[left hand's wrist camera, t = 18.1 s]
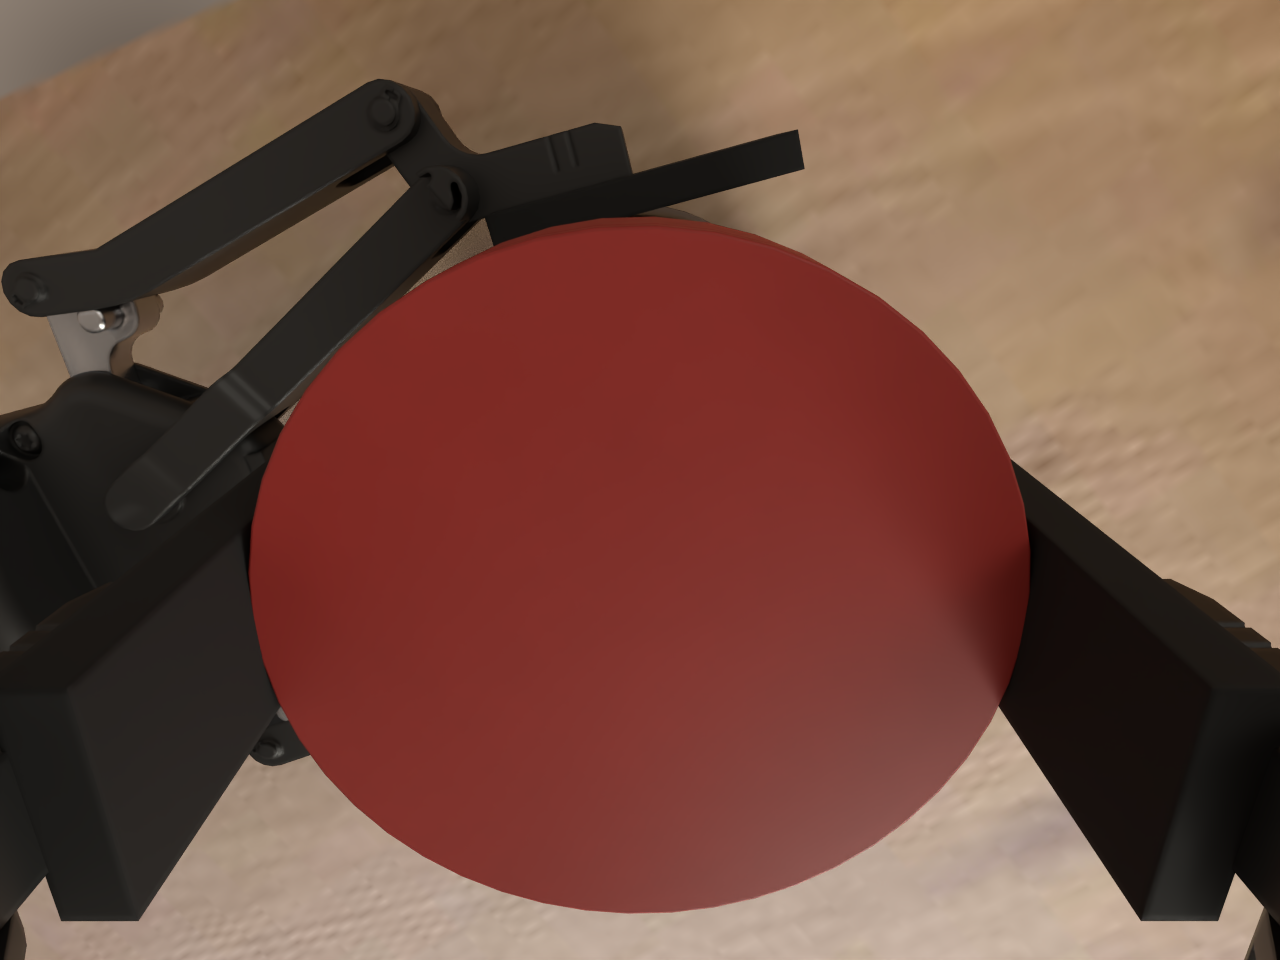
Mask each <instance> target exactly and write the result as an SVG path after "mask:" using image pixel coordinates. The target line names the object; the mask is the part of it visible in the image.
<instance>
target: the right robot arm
mask: <svg viewBox="0 0 1280 960" xmlns="http://www.w3.org/2000/svg"><path fill="white" fill-rule="evenodd" d="M393 166H395V167H396V168H397V170H398V171H399V172H400V174H401V175H402V176H403V178H404V179H405V181H406V182H407V183H408V185H409V186H410V188H409V189H408V190H407V191H406V192H405V193H404V194H403V195H402V196H401V197H400V198H399V199H398V200H397V202H396V203H395V204H394V205H393V206H392V207H391V208H390V209H389V210H388V211H387V212H386V213H385V214H384V215H383V216H382V217H381V218H380V219H379V220H378V221H377V222H376V223H375V224H374V225H373V226H372V227H371V228H370V229H369V230H368V231H367V232H366V233H365V234H364V235H363V236H362V237H361V238H360V239H359V240H358V241H357V242H356V243H355V244H354V245H353V246H352V247H351V248H350V249H349V250H348V252H347V253H346V254H345V255H344V256H343V257H342V258H341V259H340V260H339V261H338V262H337V263H336V264H335V265H334V266H333V267H332V268H331V269H330V270H329V271H328V272H327V273H326V274H325V275H324V276H323V277H322V278H321V279H320V280H319V281H318V282H317V283H316V284H315V285H314V286H313V287H312V288H311V289H310V290H309V291H308V292H307V293H306V294H305V295H304V296H303V297H302V298H301V299H300V301H299V302H298V303H297V304H296V305H295V306H294V307H293V308H292V309H291V310H290V311H289V312H288V313H287V314H286V315H285V316H284V317H283V318H282V319H281V320H280V321H279V322H278V323H277V324H276V325H275V326H274V327H273V328H272V329H271V330H270V331H269V332H268V333H267V334H266V335H265V336H264V337H263V338H262V339H261V340H260V341H259V342H258V343H257V344H256V345H255V346H254V347H253V348H252V350H251V351H250V352H249V353H248V354H247V355H246V356H245V357H244V358H243V359H242V360H241V361H240V362H239V363H238V364H237V365H236V366H235V367H234V368H232V369H231V370H230V371H229V372H228V373H226V374H225V375H224V376H222V377H221V378H220V379H218V380H217V381H216V382H215V383H214V384H212V385H211V386H210V387H209V388H207V387H204V386H201V385H198V384H196V383H193V382H190V381H187V380H184V379H181V378H179V377H176V376H173V375H170V374H167V373H165V372H162V371H159V370H156V369H153V368H150V367H148V366H145V365H142V364H139V363H134V362H133V358H132V346H133V344H134V341H135V340H136V339H137V338H138V337H139V336H140V335H142V334H144V333H146V332H148V331H150V330H152V329H153V328H154V327H155V326H156V325H157V323H158V321H159V319H160V313H161V312H162V310H163V307H164V306H163V301H162V299H161V297H160V296H159V295H158V294H161V293H165V292H168V291H172V290H175V289H178V288H181V287H184V286H187V285H190V284H193V283H195V282H197V281H199V280H201V279H203V278H205V277H207V276H208V275H210V274H212V273H213V272H215V271H217V270H219V269H220V268H222V267H224V266H225V265H227V264H229V263H230V262H232V261H234V260H236V259H237V258H239V257H241V256H242V255H244V254H246V253H247V252H249V251H251V250H253V249H254V248H256V247H258V246H259V245H261V244H263V243H264V242H266V241H268V240H269V239H271V238H273V237H275V236H276V235H278V234H280V233H281V232H283V231H285V230H286V229H288V228H290V227H292V226H293V225H295V224H297V223H298V222H300V221H302V220H303V219H305V218H307V217H308V216H310V215H312V214H314V213H315V212H317V211H319V210H320V209H322V208H324V207H325V206H327V205H329V204H331V203H332V202H334V201H336V200H337V199H339V198H341V197H342V196H344V195H346V194H347V193H349V192H351V191H353V190H354V189H356V188H358V187H359V186H361V185H363V184H364V183H366V182H368V181H370V180H371V179H373V178H375V177H376V176H378V175H380V174H381V173H383V172H385V171H387V170H388V169H390V168H392V167H393ZM802 169H804V163H803V157H802V151H801V145H800V139H799V134H798V130H793V131H789V132H785V133H780V134H776V135H772V136H769V137H765V138H762V139H758V140H754V141H751V142H747V143H743V144H740V145H736V146H733V147H729V148H725V149H722V150H718V151H715V152H711V153H707V154H704V155H700V156H696V157H693V158H689V159H686V160H682V161H678V162H675V163H671V164H667V165H664V166H660V167H657V168H653V169H649V170H646V171H642V172H639V173H635V174H633V172H632V168H631V163H630V159H629V155H628V151H627V147H626V143H625V139H624V135H623V131H622V128H621V126H614V125H607V124H600V123H592V124H589V125H585V126H581V127H578V128H574V129H571V130H568V131H564V132H560V133H557V134H553V135H550V136H547V137H543V138H539V139H536V140H532V141H529V142H525V143H522V144H518V145H515V146H511V147H507V148H504V149H500V150H497V151H493V152H490V153H486V154H478V153H475V152H473V151H471V150H470V149H468V148H467V147H465V146H464V145H463V144H462V143H461V141H460V140H459V139H458V138H457V137H456V135H455V134H454V132H453V131H452V130H451V128H450V127H449V125H448V124H447V122H446V121H445V120H444V118H443V117H442V114H441V111H440V109H439V106H438V104H437V103H436V102H435V101H434V99H433V98H432V97H431V96H429V95H428V94H426V93H424V92H422V91H420V90H417V89H414V88H411V87H408V86H406V85H403V84H400V83H397V82H394V81H391V80H384V79H377V80H374V81H371V82H368V83H366V84H364V85H363V86H361V87H359V88H358V89H356V90H354V91H353V92H351V93H350V94H348V95H346V96H345V97H343V98H341V99H340V100H338V101H337V102H335V103H333V104H332V105H330V106H328V107H327V108H325V109H323V110H322V111H320V112H319V113H317V114H315V115H314V116H312V117H310V118H309V119H307V120H306V121H304V122H302V123H301V124H299V125H297V126H296V127H294V128H293V129H291V130H289V131H288V132H286V133H284V134H283V135H281V136H280V137H278V138H276V139H275V140H273V141H271V142H270V143H268V144H267V145H265V146H263V147H262V148H260V149H258V150H257V151H255V152H253V153H252V154H250V155H249V156H247V157H245V158H244V159H242V160H240V161H239V162H237V163H236V164H234V165H232V166H231V167H229V168H227V169H226V170H224V171H223V172H221V173H219V174H218V175H216V176H214V177H213V178H211V179H210V180H208V181H206V182H205V183H203V184H201V185H200V186H198V187H196V188H195V189H193V190H192V191H190V192H188V193H187V194H185V195H183V196H182V197H180V198H179V199H177V200H175V201H174V202H172V203H170V204H169V205H167V206H166V207H164V208H162V209H161V210H159V211H157V212H156V213H154V214H153V215H151V216H149V217H148V218H146V219H144V220H143V221H141V222H140V223H138V224H136V225H135V226H133V227H131V228H130V229H128V230H126V231H125V232H123V233H122V234H120V235H118V236H117V237H115V238H113V239H112V240H110V241H109V242H107V243H105V244H104V245H102V246H100V247H99V248H97V249H89V250H83V251H76V252H70V253H63V254H57V255H50V256H44V257H37V258H30V259H24V260H18V261H16V262H13V263H11V264H9V265H8V266H7V268H6V269H5V270H4V271H3V276H2V281H1V282H2V287H3V292H4V294H5V296H6V297H7V299H8V300H9V302H10V303H11V304H12V305H13V306H14V307H15V308H16V309H17V310H19V311H20V312H22V313H24V314H27V315H29V316H34V317H45V316H47V319H48V321H49V324H50V326H51V329H52V331H53V334H54V336H55V339H56V341H57V344H58V347H59V349H60V352H61V354H62V357H63V359H64V362H65V364H66V367H67V369H68V372H69V374H70V377H71V378H69V379H67V380H66V381H65V382H64V383H62V384H61V385H60V386H59V388H58V389H57V390H56V392H55V393H54V394H53V396H52V397H51V398H50V399H49V400H48V401H47V402H45V403H44V404H40V405H37V406H33V407H29V408H25V409H22V410H18V411H14V412H11V413H7V414H3V415H0V653H1V652H2V651H9V649H10V648H9V646H10V645H11V644H13V643H14V642H15V641H17V640H18V639H19V638H21V637H22V636H23V635H25V634H26V633H27V632H29V631H35V629H36V625H38V624H39V623H40V622H42V621H43V620H44V619H46V618H47V617H48V616H50V615H51V614H52V613H53V612H55V611H56V610H57V609H59V608H60V607H61V606H63V605H64V604H65V603H67V602H68V601H71V600H73V599H75V598H77V597H79V596H81V595H83V594H85V593H87V592H90V591H92V590H94V589H96V588H98V587H100V586H102V585H104V584H106V583H108V582H114V581H115V580H117V579H118V578H119V577H120V576H122V575H123V574H124V573H125V572H127V571H128V570H129V569H131V568H132V567H133V566H134V565H136V564H137V563H138V562H139V561H141V560H142V559H143V558H144V557H146V556H147V555H148V554H149V553H151V552H152V551H153V550H155V549H156V548H157V547H158V546H160V545H161V544H162V543H163V542H165V541H166V540H167V539H168V538H170V537H171V536H172V535H173V534H175V533H176V532H177V531H179V530H180V529H181V528H182V527H184V526H185V525H186V524H187V523H189V522H190V521H191V520H192V519H194V518H195V517H196V516H197V515H199V514H200V513H201V512H203V511H204V510H205V509H206V508H208V507H209V506H210V505H211V504H213V503H214V502H215V501H216V500H218V499H219V498H220V497H221V496H223V495H224V494H225V493H227V492H228V491H229V490H230V489H232V488H233V487H234V486H235V485H237V484H238V483H239V482H240V481H242V480H243V479H244V478H245V477H247V476H248V475H249V474H251V473H252V472H253V471H254V470H256V469H257V468H258V467H259V466H261V465H262V464H263V463H264V462H266V461H267V460H268V459H269V458H271V455H272V452H273V450H274V447H275V445H276V442H277V440H278V437H279V435H280V433H281V431H282V429H283V428H284V425H283V424H282V423H281V422H280V421H279V419H280V418H281V417H282V416H283V415H284V414H285V413H286V412H287V411H288V410H289V409H290V408H291V407H292V406H293V405H294V404H295V403H296V402H297V401H298V400H299V399H300V398H301V397H302V395H303V393H304V392H305V390H306V389H307V388H308V386H309V385H310V384H311V383H312V381H313V380H314V379H315V378H316V376H317V375H318V374H319V373H320V372H321V370H322V369H323V368H324V367H325V365H326V364H327V363H328V362H329V361H330V359H331V358H332V357H333V356H334V354H335V353H336V352H337V351H338V349H339V348H341V347H342V346H343V345H344V344H345V343H346V342H347V341H348V340H349V339H350V338H352V337H353V336H354V335H355V334H356V333H357V332H358V331H359V330H360V329H361V328H363V327H364V326H365V325H366V324H367V323H368V322H369V321H370V320H371V319H372V318H374V317H375V316H376V315H377V314H378V313H379V312H380V311H382V310H383V309H385V308H386V307H388V306H389V305H391V304H392V303H394V302H395V301H397V300H398V299H400V298H401V297H402V296H403V295H404V294H405V293H406V292H407V291H408V290H409V289H410V288H411V287H412V286H414V285H415V284H416V283H417V282H418V281H419V280H420V279H421V278H422V277H423V276H424V275H425V274H426V273H427V272H428V271H429V270H430V269H431V268H432V267H433V266H434V265H435V264H436V263H437V262H438V261H439V260H440V259H441V258H442V257H443V256H444V255H445V254H446V253H447V252H448V251H449V250H450V249H451V248H452V247H453V246H454V245H455V244H457V243H458V242H459V241H460V240H461V239H462V238H463V237H464V236H465V235H466V234H467V233H468V232H469V231H470V230H471V229H472V228H473V227H474V226H475V225H476V224H477V223H478V222H479V221H480V220H481V219H483V218H485V219H486V223H487V226H488V229H489V232H490V235H491V239H492V242H493V245H494V246H496V245H498V244H500V243H502V242H505V241H508V240H511V239H515V238H518V237H521V236H524V235H527V234H530V233H533V232H537V231H540V230H543V229H546V228H549V227H554V226H559V225H565V224H571V223H577V222H583V221H589V220H595V219H600V218H626V217H629V216H633V215H637V214H640V213H644V212H648V211H652V210H655V209H659V208H663V207H666V206H670V205H674V204H677V203H681V202H685V201H688V200H692V199H696V198H699V197H703V196H707V195H710V194H714V193H718V192H721V191H725V190H729V189H733V188H736V187H740V186H744V185H747V184H751V183H755V182H758V181H762V180H766V179H769V178H773V177H777V176H780V175H784V174H788V173H791V172H795V171H799V170H802ZM249 754H250V755H251V756H252V757H253V758H254V759H255V760H256V761H258V762H260V763H262V764H264V765H269V766H277V765H282V764H285V763H288V762H291V761H294V760H297V759H300V758H303V757H306V756H309V755H310V753H309V752H308V751H307V749H306V748H305V747H304V745H303V744H302V743H301V741H300V740H299V738H298V736H297V735H296V733H295V731H294V729H293V727H292V726H291V724H290V722H289V720H288V718H287V717H286V715H285V713H284V711H283V709H282V708H281V707H280V708H279V710H278V711H277V713H276V714H275V716H274V717H273V719H272V720H271V722H270V723H269V725H268V726H267V728H266V729H265V731H264V732H263V734H262V735H261V737H260V738H259V740H258V741H257V743H256V744H255V746H254V747H253V749H252V750H251V752H250V753H249Z"/></svg>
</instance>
